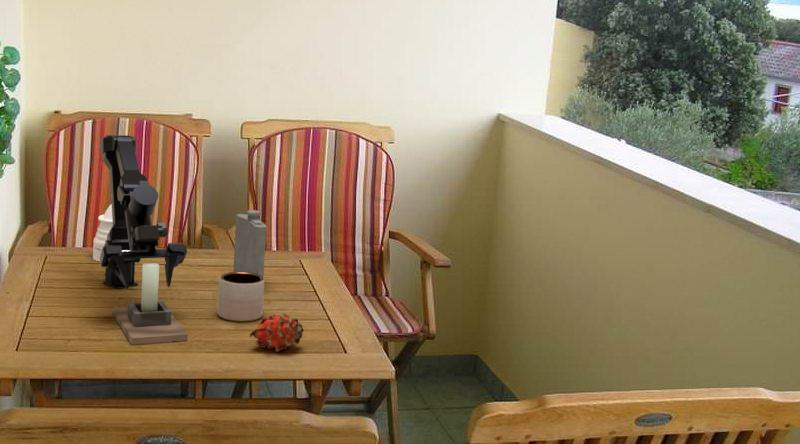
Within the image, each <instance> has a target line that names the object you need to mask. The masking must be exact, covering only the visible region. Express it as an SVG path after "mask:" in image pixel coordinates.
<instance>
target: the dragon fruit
mask: <svg viewBox="0 0 800 444" xmlns="http://www.w3.org/2000/svg"><path fill="white" fill-rule="evenodd" d="M303 327H304V326H303V325H302V324H301V323H300V322H299V320H298V319H297V318H293V317H290V316H289V315H288V314H287V313H283V312H282V316H281V315H280V314H279V315H277V314H270V315H269V317H267V318H266V317H265V318H261V321H260V322H259V324H258V325H257V326H256V328H255V329H253V331H252V332H251V333H250V334H249V337H250V338H252V337H254V338H255V339H257V340H255V346H256V345H257V346H259V347H258V348H266V349H268V350H269V349H274V348H275V352H277V353H278V352H281V351H282V350H289V348H291V346H292V345H298V344H299V343H300V341H301V339H302V337H303V333H304V331H305V330H304V329H303Z"/></svg>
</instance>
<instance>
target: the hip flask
mask: <svg viewBox="0 0 800 444" xmlns="http://www.w3.org/2000/svg"><path fill="white" fill-rule="evenodd" d="M261 214H262V211H260V210H254V209H253V210H252V209H251V210H249V209H248V210H247V211H246V214H245V213H238V214H236V215H235V231H234V232H235V234H234V237H235V238H234V251H233V252H234V253H233V254H234V255H233V271H232V272H251V273H256V274H259V275H261V276H263V277H264V275H265V274H264V273H265V256H266V242H267V241H266V240H267V225H266V224H265V223H264V222H263V221H261V220H260V219H261V218H260V217H261ZM264 278H265V277H264Z"/></svg>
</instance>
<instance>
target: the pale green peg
mask: <svg viewBox="0 0 800 444" xmlns="http://www.w3.org/2000/svg"><path fill="white" fill-rule="evenodd" d="M141 269H142V271H141V275H142V276H141V301H140V303H141V312H151V311H157V308H158V302H159V283H160V281H159V279H160V277H159V276H160V264H159V263H156V262H144V263H143V264H142V268H141Z"/></svg>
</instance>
